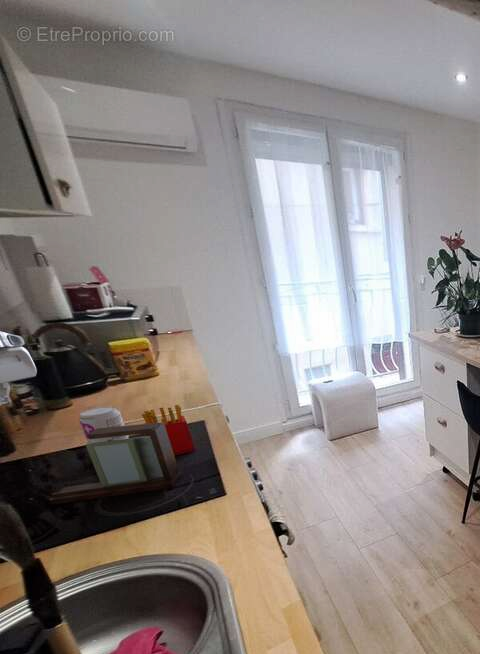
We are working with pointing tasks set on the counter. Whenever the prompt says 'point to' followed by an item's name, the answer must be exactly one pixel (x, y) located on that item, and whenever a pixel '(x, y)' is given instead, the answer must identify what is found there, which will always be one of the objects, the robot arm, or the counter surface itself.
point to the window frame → (152, 454)
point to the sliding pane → (117, 462)
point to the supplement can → (101, 422)
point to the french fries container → (173, 429)
